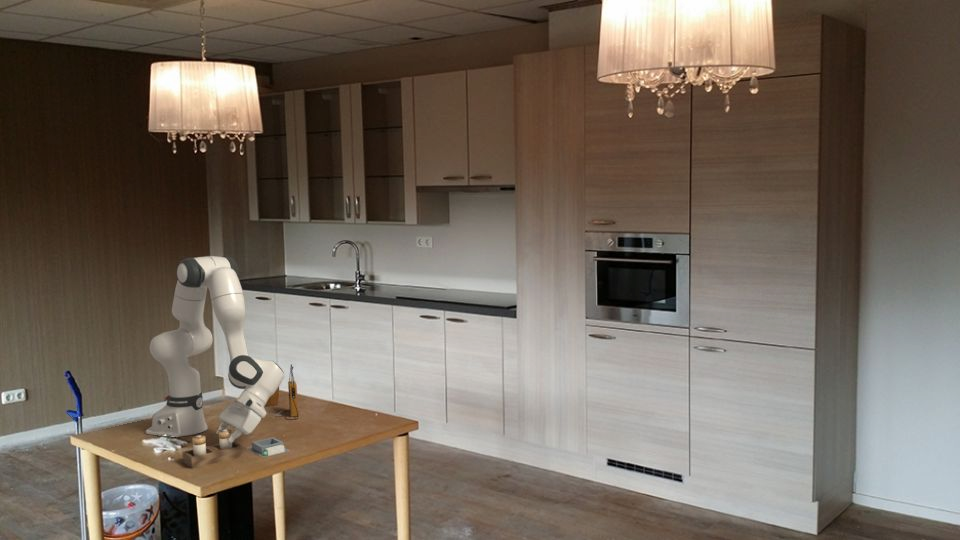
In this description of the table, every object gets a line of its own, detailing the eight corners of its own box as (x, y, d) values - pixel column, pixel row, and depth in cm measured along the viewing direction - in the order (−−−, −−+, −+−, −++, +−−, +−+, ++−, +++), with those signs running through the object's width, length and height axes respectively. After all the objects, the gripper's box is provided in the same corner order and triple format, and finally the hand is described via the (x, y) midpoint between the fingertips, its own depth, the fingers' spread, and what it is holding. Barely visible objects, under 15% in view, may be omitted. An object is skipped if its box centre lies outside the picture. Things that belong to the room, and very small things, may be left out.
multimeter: (270, 412, 341) (267, 364, 339) (295, 410, 344) (293, 361, 342) (273, 422, 327) (270, 371, 325) (299, 419, 330) (296, 369, 328)
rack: (192, 471, 273) (191, 458, 273) (183, 465, 280) (182, 451, 279) (244, 459, 284) (243, 446, 283) (233, 453, 290) (233, 440, 290)
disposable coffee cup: (286, 403, 354) (285, 375, 353) (267, 408, 347) (265, 380, 346) (273, 400, 361) (271, 372, 359) (254, 405, 354) (252, 376, 352)
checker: (263, 460, 282) (262, 450, 282) (245, 450, 293) (245, 440, 293) (290, 453, 288) (290, 443, 288) (272, 444, 299) (272, 434, 299)
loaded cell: (191, 463, 277) (189, 437, 276) (198, 459, 281) (197, 433, 280) (202, 464, 276) (200, 438, 275) (209, 460, 280) (207, 434, 279)
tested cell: (217, 457, 283) (215, 431, 282) (224, 453, 287) (222, 427, 286) (228, 458, 282) (226, 431, 281) (235, 454, 286) (233, 428, 285)
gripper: (230, 393, 295) (205, 426, 290) (255, 404, 279) (228, 439, 274) (243, 403, 298) (218, 436, 293) (268, 415, 282) (242, 450, 277)
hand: (223, 438), depth 283 cm, fingers open, 8 cm apart
